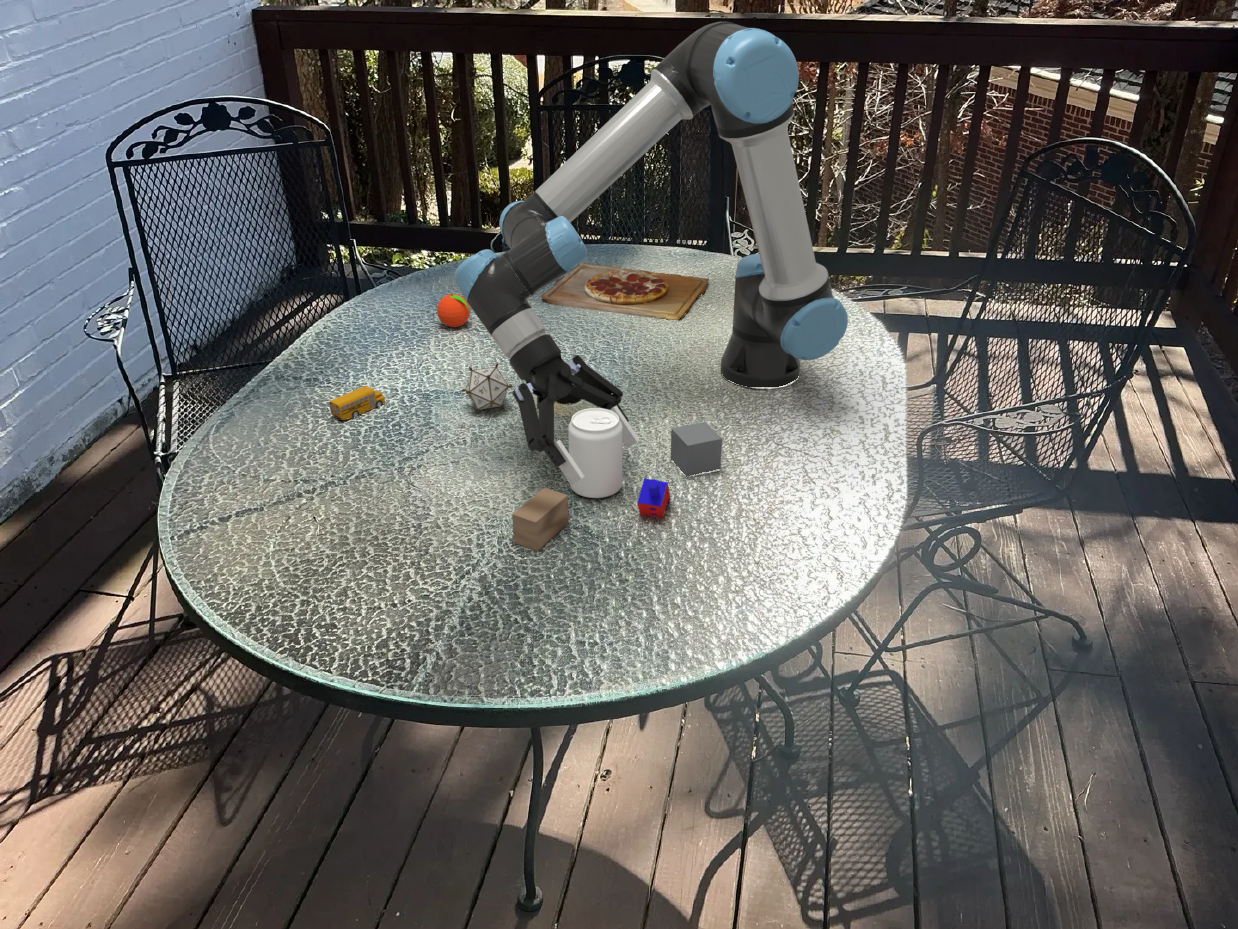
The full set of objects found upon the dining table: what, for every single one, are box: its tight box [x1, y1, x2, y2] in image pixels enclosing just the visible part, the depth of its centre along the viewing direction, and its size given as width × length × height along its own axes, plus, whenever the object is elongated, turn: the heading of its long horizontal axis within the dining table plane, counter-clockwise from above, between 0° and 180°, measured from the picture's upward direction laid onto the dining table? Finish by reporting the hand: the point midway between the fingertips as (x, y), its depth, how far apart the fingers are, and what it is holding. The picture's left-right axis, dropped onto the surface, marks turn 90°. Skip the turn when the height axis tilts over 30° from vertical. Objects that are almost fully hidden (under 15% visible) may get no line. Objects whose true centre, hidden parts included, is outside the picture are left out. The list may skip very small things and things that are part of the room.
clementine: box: [436, 293, 471, 328], centre depth 198 cm, size 8×7×7 cm
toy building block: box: [636, 478, 671, 519], centre depth 138 cm, size 4×4×8 cm
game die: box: [460, 362, 514, 415], centre depth 166 cm, size 9×8×10 cm
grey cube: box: [670, 421, 723, 478], centre depth 150 cm, size 6×6×6 cm
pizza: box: [540, 262, 710, 321], centre depth 217 cm, size 35×28×4 cm
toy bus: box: [328, 385, 386, 421], centre depth 166 cm, size 3×10×4 cm, turn 141°
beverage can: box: [567, 407, 623, 499], centre depth 142 cm, size 8×8×12 cm
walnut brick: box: [511, 487, 570, 552], centre depth 134 cm, size 8×4×5 cm, turn 149°
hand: (606, 462), depth 142 cm, fingers open, 13 cm apart
